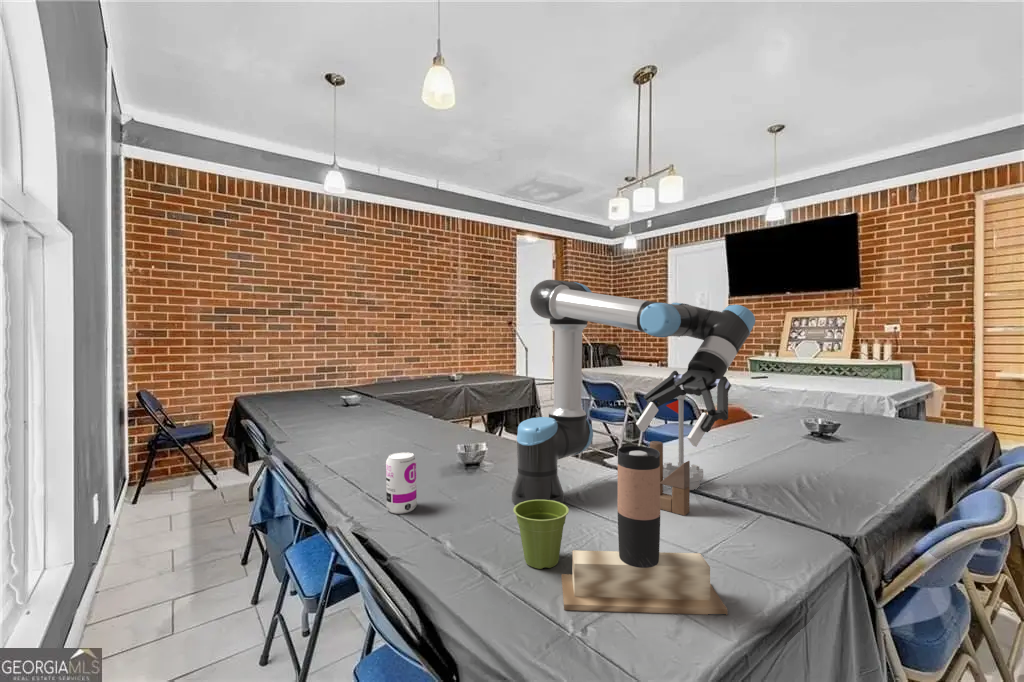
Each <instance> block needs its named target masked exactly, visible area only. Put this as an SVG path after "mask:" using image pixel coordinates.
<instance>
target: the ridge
mask: <svg viewBox="0 0 1024 682" xmlns="http://www.w3.org/2000/svg"><path fill="white" fill-rule="evenodd" d="M571 561H572V563H571V564H572V565H571V566H572V574H570V573H566V574H565V573H561V588H562V589H561V590H562V600H563V610H564V611H582V612H583V611H585V612H587V611H588V612H591V611H592V612H616V613H618V612H619V613H620V612H621V613H622V612H623V613H646V614H647V613H650V614H651V613H652V614H653V613H654V614H676V615H677V614H681V615H683V614H684V615H708V614H726V615H725V616H728V608H727V606H726V605H725V604H724V602H723V600H722V598H720V596H719V595H718V593H717V592H716V590H715V589H714V588H713V586H712V584H711V566H710V565H709V563H708V562H707V560H706V559H705V558H704V557H703V555H702V554H701V553H699V552H665V551H664V552H663V551H662V552H660V551H659V562H658V564H657V565H655V566H653V567H649V568H639V567H634V566H630V565H628V564H626V563H624V562H623V561H622V560H621V559H620V557H619V550H618V551H615V550H614V551H612V550H577V549H575V550H572V560H571Z"/></svg>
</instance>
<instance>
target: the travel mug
mask: <svg viewBox="0 0 1024 682" xmlns="http://www.w3.org/2000/svg"><path fill="white" fill-rule="evenodd" d="M616 502H617V505H616V507H617V534H618V536H617V537H618V539H617V540H618V551H619V557H620V559H621V560H622V561H623V562H624V563H626V564H628V565H630V566H634V567H639V568H649V567H653V566H655V565H657V564H658V562H659V552H660V544H661V543H660V540H661V509H660V452H659V451H658V450H656V449H654V448H650V446H642V445H627V446H626V445H625V446H622V447H619V448H618V449H617V501H616Z"/></svg>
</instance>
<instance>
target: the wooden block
mask: <svg viewBox="0 0 1024 682" xmlns="http://www.w3.org/2000/svg"><path fill="white" fill-rule="evenodd" d="M649 447H650V448H654V449H656V450H658V451H659V452H660V510H663V511H666V512H670V513H673V514H676V515H679V514H680V516H686V515H688V514H689V513H690V508H691V507H690V499H691V498H690V491H691V490H690V488H689V486H690V467H691V466H690V465H691V461H690V460H688V461H686V462H685V461H684V464H682V465H681V466H680V467H679V468H677V469H676V470H675V471H674V472H673V473H671V474H670V475H669V476H668V477H666V478H665V479H664V480H663V465H664V443H663V442H661V441H655V440H652V441H650V442H649ZM666 485H668V486H672V488H671V490H672V491H671V494H669V493H665V492H664V486H666Z"/></svg>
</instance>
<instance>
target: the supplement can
mask: <svg viewBox="0 0 1024 682" xmlns="http://www.w3.org/2000/svg"><path fill="white" fill-rule="evenodd" d="M385 469H386V470H385V472H386V473H385V486H386V490H385V491H386V492H385V493H386V499H385V500H386V511H388V512H389V513H392V514H395V515H396V514H397V515H399V514H400V515H402V514H406V513H411V512H412V511H414V509H415V508H416V507H417V506H418V504H417V502H418V501H417V500H418V499H417V497H418V495H417V458H416V457H415V455H414V453H413V452H408V451H407V452H403V451H402V452H394V453H391V454H389V455H388V457H387V459H386V461H385Z"/></svg>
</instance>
